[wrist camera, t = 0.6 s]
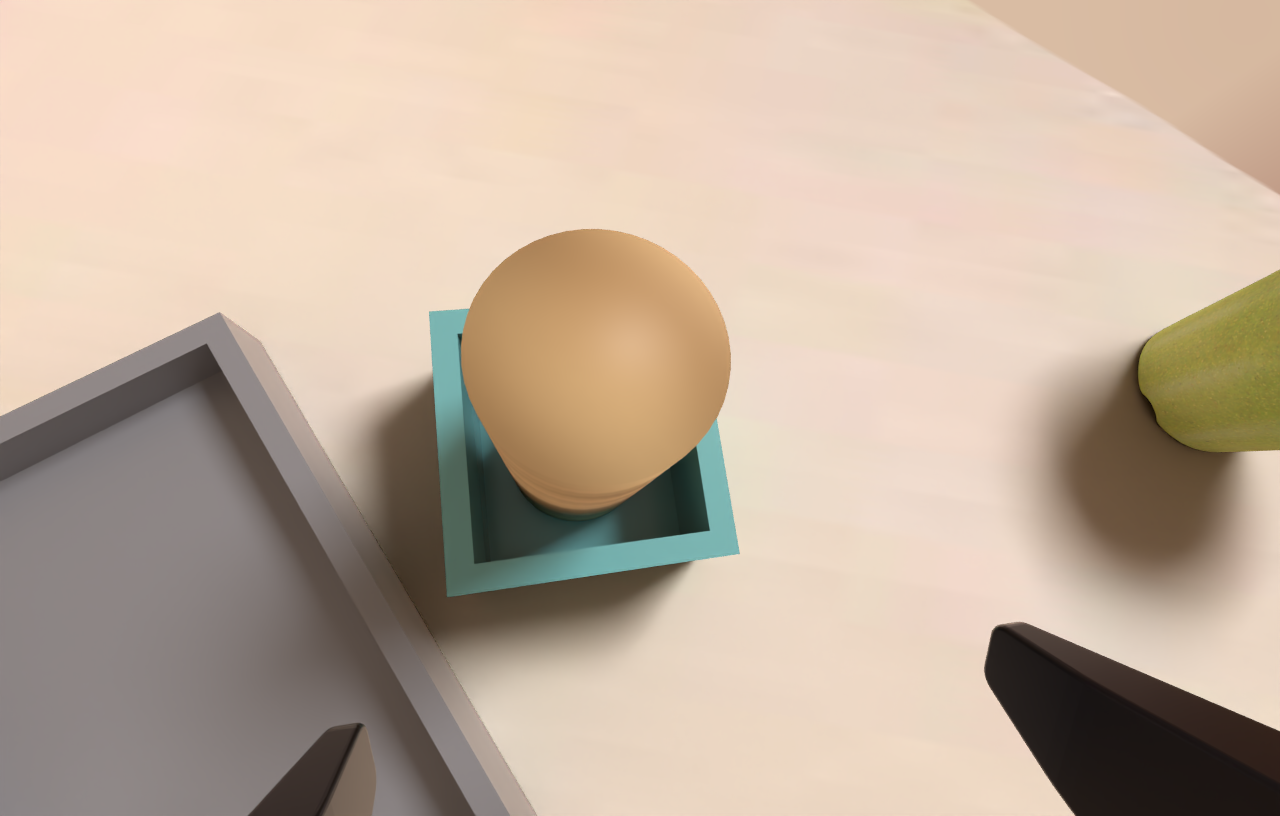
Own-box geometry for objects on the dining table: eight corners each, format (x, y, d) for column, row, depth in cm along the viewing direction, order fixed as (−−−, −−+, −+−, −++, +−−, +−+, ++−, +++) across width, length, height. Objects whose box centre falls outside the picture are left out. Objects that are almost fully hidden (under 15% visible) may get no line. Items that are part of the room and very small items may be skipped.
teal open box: (700, 553, 23) (739, 553, 18) (471, 587, 21) (447, 597, 16) (667, 343, 25) (695, 292, 20) (455, 361, 23) (429, 311, 18)
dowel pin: (589, 549, 22) (628, 543, 10) (482, 467, 22) (400, 370, 10) (667, 442, 23) (779, 332, 12) (565, 366, 23) (575, 182, 12)
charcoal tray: (540, 822, 20) (538, 863, 17) (107, 1166, 16) (18, 1287, 14) (260, 341, 22) (219, 312, 20) (-168, 553, 19) (-288, 553, 16)
